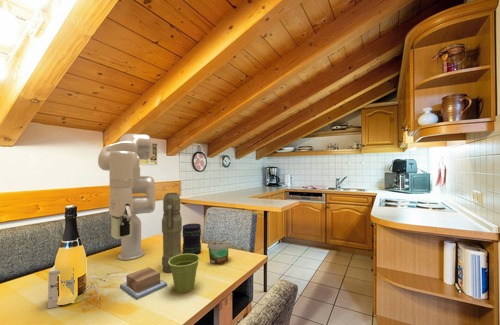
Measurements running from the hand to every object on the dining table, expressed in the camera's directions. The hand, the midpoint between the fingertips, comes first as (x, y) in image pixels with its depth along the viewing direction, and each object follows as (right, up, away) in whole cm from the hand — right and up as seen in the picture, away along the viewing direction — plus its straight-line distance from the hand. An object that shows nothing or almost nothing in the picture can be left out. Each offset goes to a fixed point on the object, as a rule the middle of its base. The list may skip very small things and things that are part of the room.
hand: (121, 233), depth 84 cm
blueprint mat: (+5, -23, +6) cm, 24 cm away
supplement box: (-19, -23, -3) cm, 30 cm away
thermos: (+11, -24, +22) cm, 34 cm away
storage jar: (+15, -24, +42) cm, 50 cm away
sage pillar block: (0, -1, 0) cm, 1 cm away
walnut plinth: (+5, -23, +6) cm, 24 cm away
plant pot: (+22, -23, +5) cm, 32 cm away
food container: (+33, -23, +29) cm, 50 cm away
